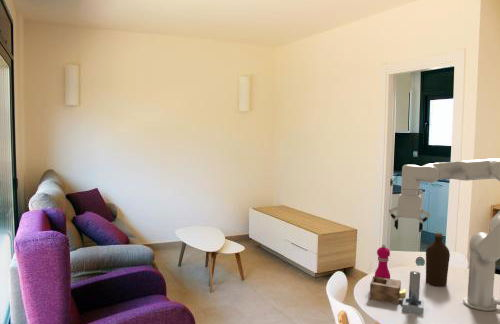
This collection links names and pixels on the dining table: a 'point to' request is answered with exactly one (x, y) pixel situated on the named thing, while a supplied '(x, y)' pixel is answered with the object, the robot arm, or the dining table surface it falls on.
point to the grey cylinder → (414, 288)
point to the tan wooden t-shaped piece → (402, 294)
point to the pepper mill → (383, 262)
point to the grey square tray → (412, 306)
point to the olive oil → (437, 262)
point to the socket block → (385, 289)
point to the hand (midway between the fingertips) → (408, 230)
